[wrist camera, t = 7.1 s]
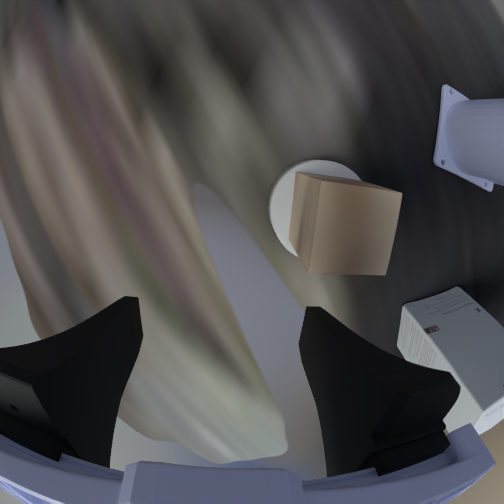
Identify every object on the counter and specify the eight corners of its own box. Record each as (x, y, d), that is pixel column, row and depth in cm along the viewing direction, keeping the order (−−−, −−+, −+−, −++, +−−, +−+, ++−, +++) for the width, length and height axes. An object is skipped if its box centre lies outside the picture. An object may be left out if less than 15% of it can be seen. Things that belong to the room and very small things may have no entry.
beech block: (359, 180, 18) (402, 193, 13) (349, 243, 19) (385, 275, 14) (295, 171, 17) (321, 180, 12) (288, 239, 19) (308, 273, 14)
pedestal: (364, 171, 20) (379, 174, 18) (343, 255, 22) (355, 267, 20) (277, 150, 19) (283, 150, 17) (259, 242, 21) (263, 254, 19)
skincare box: (457, 284, 25) (547, 361, 11) (448, 327, 27) (520, 407, 13) (397, 305, 25) (486, 412, 11) (392, 350, 27) (457, 453, 13)
